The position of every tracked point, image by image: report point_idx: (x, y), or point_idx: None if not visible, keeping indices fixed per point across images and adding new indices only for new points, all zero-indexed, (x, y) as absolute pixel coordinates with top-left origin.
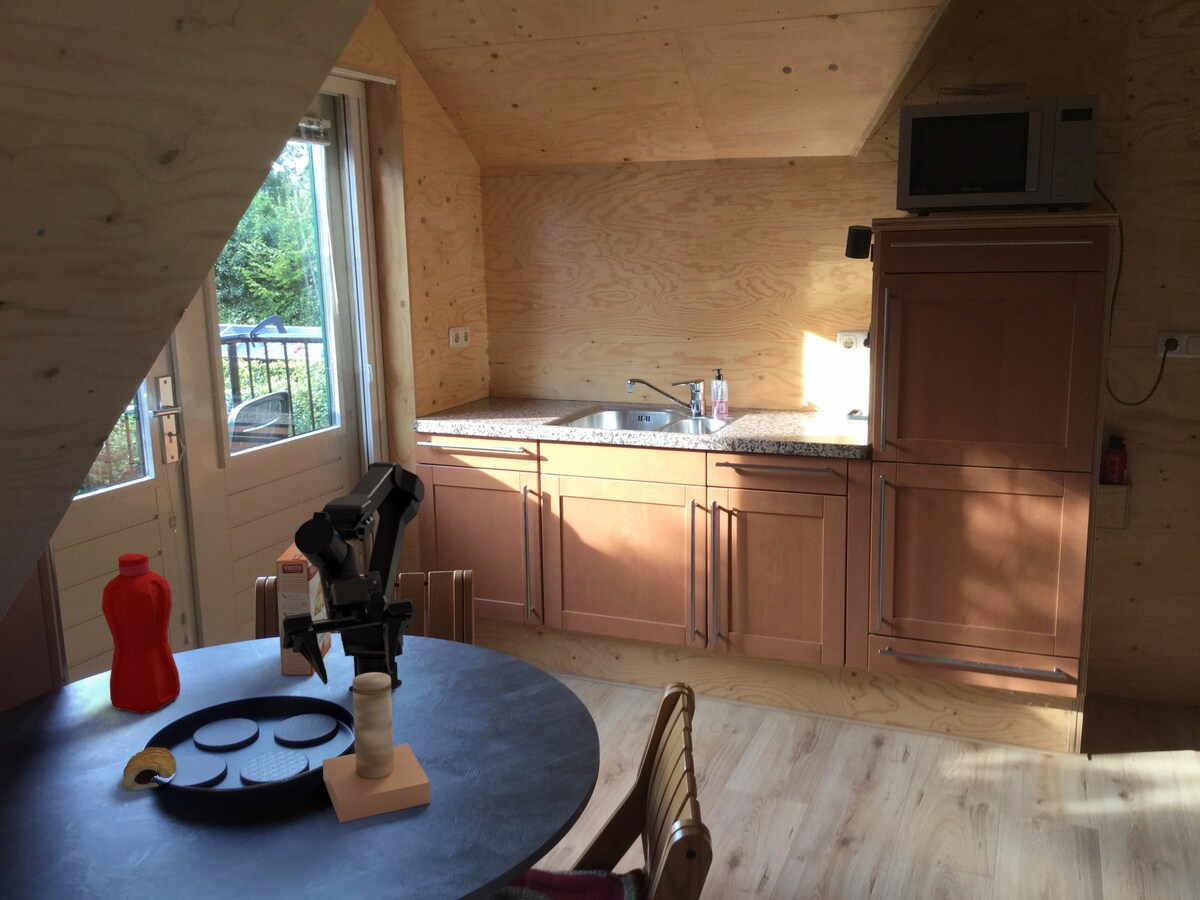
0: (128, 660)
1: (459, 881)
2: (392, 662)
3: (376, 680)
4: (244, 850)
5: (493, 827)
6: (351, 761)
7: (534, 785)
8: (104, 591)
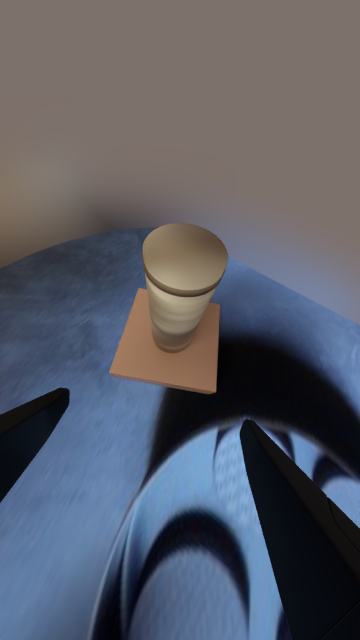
0: None
1: None
2: (41, 398)
3: (179, 241)
4: (282, 320)
5: (122, 254)
6: (187, 366)
7: (55, 276)
8: None
